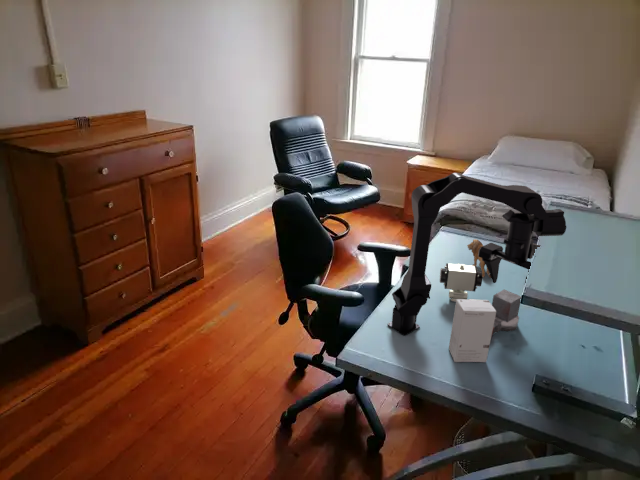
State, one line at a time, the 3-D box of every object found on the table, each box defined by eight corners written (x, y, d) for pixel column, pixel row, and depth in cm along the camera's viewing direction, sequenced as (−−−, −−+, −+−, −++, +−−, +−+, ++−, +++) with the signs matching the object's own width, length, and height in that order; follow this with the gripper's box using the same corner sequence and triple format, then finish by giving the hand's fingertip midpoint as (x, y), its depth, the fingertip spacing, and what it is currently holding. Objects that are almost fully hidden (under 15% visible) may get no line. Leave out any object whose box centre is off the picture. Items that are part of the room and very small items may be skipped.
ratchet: (482, 350, 120) (486, 331, 117) (458, 336, 125) (460, 317, 123) (522, 324, 130) (526, 306, 128) (498, 313, 136) (501, 295, 133)
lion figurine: (463, 261, 167) (466, 238, 163) (477, 259, 168) (480, 236, 164) (484, 280, 154) (488, 256, 150) (499, 279, 155) (503, 254, 151)
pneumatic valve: (478, 305, 139) (483, 270, 135) (437, 301, 142) (442, 266, 137) (476, 296, 144) (481, 261, 139) (437, 292, 146) (441, 258, 142)
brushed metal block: (507, 322, 126) (511, 303, 124) (490, 314, 130) (493, 295, 128) (517, 315, 129) (521, 296, 127) (500, 308, 133) (504, 289, 131)
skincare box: (454, 363, 115) (461, 311, 109) (447, 347, 121) (454, 298, 115) (488, 362, 115) (497, 311, 109) (480, 347, 121) (488, 297, 115)
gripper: (571, 239, 118) (558, 293, 124) (504, 218, 131) (496, 268, 138) (548, 251, 112) (536, 307, 118) (480, 228, 125) (473, 279, 131)
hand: (509, 289), depth 126 cm, fingers open, 9 cm apart
